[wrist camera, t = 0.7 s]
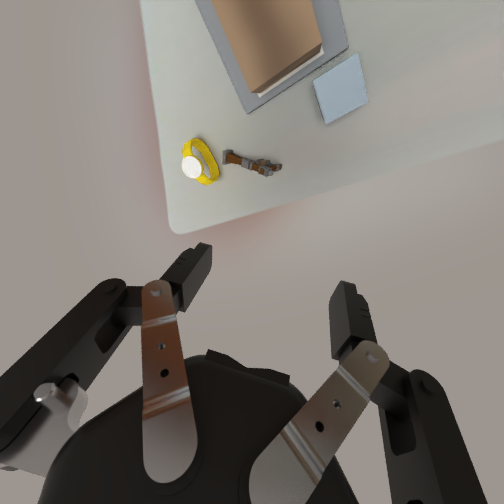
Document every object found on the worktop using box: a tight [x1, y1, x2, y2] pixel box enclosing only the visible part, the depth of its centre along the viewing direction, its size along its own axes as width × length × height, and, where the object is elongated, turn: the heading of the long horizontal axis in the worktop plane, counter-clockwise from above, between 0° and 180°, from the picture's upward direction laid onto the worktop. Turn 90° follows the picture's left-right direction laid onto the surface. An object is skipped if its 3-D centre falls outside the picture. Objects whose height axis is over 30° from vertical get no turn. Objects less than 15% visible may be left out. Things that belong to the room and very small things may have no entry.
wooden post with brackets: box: [222, 150, 282, 177], centre depth 29 cm, size 2×8×4 cm, turn 83°
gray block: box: [312, 52, 368, 124], centre depth 22 cm, size 4×4×5 cm
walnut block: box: [211, 0, 322, 93], centre depth 19 cm, size 7×10×5 cm
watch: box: [182, 138, 219, 185], centre depth 29 cm, size 6×3×6 cm, turn 27°
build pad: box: [195, 0, 349, 114], centre depth 21 cm, size 12×12×1 cm
